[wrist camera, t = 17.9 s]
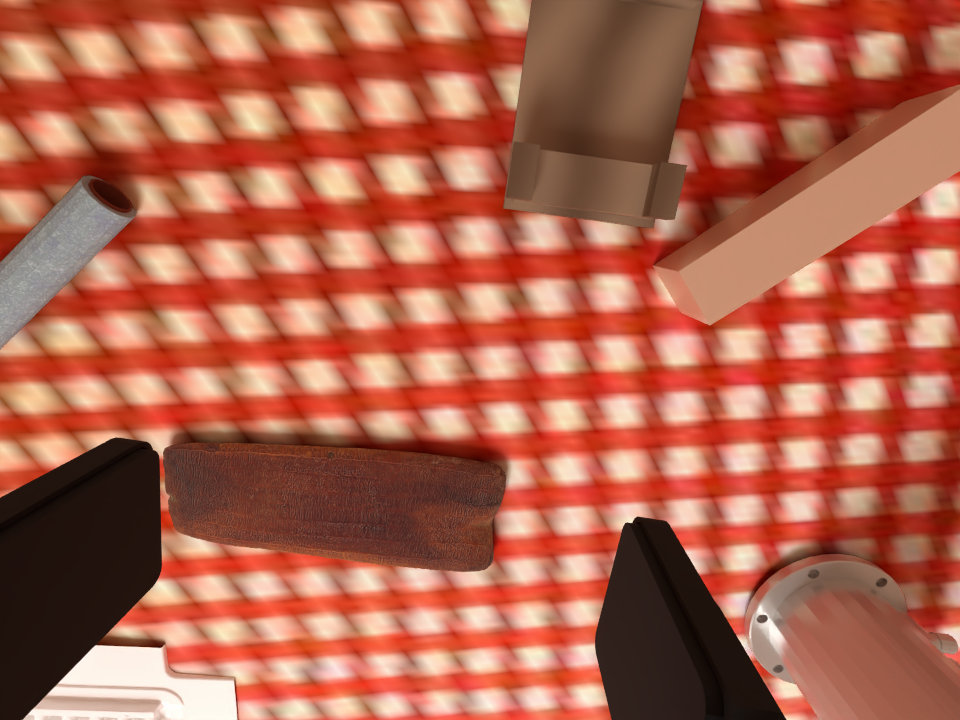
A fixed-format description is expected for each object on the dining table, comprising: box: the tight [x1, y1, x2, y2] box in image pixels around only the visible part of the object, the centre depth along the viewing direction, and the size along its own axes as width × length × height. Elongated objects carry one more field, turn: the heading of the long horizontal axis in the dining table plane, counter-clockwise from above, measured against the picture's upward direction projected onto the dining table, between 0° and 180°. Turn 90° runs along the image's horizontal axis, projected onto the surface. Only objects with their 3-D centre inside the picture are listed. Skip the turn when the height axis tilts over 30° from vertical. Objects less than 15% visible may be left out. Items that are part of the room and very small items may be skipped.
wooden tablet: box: [163, 442, 506, 572], centre depth 38 cm, size 27×10×2 cm, turn 85°
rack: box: [503, 0, 703, 228], centre depth 29 cm, size 10×16×4 cm, turn 173°
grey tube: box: [0, 176, 137, 349], centre depth 34 cm, size 23×7×3 cm, turn 128°
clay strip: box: [653, 85, 960, 325], centre depth 30 cm, size 4×18×5 cm, turn 125°
